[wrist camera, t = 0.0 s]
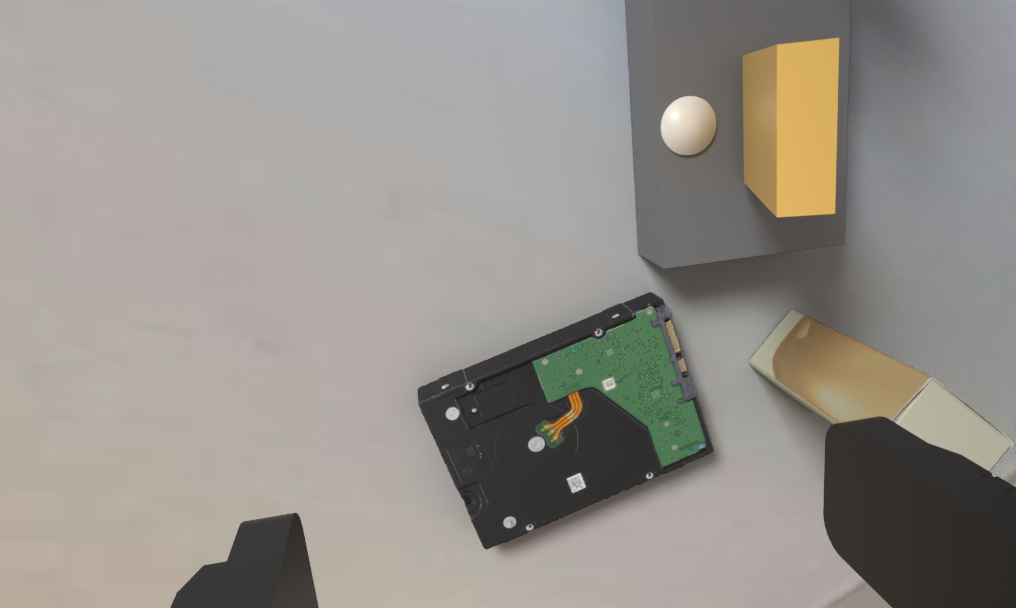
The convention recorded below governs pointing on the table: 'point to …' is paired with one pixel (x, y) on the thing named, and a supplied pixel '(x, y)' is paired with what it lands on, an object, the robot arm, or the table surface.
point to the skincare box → (872, 389)
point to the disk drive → (567, 419)
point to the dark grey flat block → (717, 126)
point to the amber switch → (792, 126)
